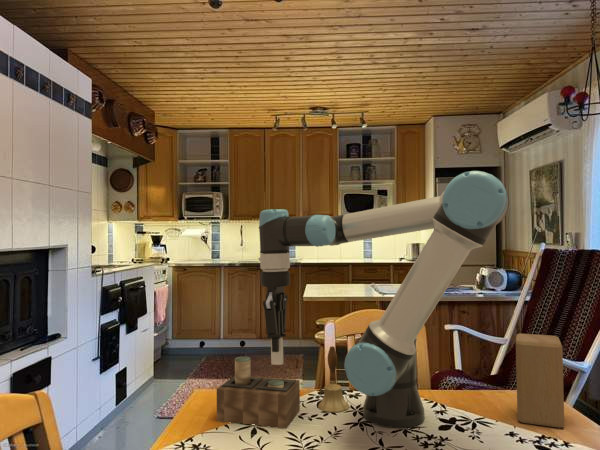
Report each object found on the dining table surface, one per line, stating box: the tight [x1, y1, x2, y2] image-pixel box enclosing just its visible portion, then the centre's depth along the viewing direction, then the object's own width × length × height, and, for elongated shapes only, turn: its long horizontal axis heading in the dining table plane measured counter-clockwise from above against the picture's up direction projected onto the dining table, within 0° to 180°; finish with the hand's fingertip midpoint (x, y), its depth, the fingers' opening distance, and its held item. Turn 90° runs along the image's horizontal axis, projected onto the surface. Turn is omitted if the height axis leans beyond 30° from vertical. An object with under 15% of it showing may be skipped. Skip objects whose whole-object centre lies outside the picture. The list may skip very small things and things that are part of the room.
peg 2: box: [268, 380, 284, 388], centre depth 119 cm, size 4×4×8 cm
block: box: [515, 333, 565, 429], centre depth 116 cm, size 10×10×20 cm
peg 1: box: [234, 356, 252, 385], centre depth 121 cm, size 4×4×8 cm
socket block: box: [216, 375, 301, 429], centre depth 120 cm, size 18×12×8 cm, turn 74°
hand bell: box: [317, 345, 350, 413], centre depth 126 cm, size 8×8×16 cm
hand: (277, 363), depth 119 cm, fingers closed
